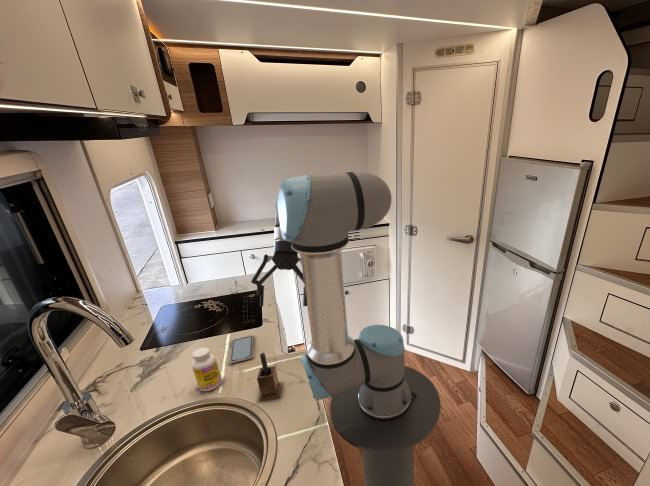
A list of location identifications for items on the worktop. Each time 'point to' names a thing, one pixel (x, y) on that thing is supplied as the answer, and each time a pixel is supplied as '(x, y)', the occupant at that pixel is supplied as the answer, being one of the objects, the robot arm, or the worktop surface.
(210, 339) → the worktop surface
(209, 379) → the supplement bottle
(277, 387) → the pen holder
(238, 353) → the smartphone
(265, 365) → the stylus
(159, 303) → the worktop surface
